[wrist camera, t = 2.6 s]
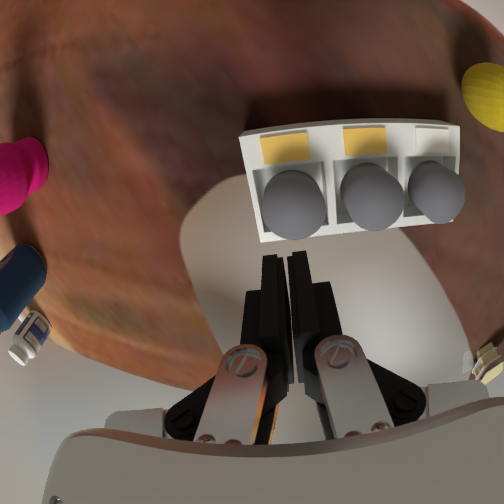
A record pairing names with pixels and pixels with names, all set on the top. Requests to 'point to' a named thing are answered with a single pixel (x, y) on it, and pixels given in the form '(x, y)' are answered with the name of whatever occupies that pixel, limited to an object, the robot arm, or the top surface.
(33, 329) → the pill bottle
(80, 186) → the top surface
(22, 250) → the soda can
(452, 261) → the top surface
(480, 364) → the stacked layers on plate
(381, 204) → the middle button
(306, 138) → the button board
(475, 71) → the lemon
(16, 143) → the pepper mill
